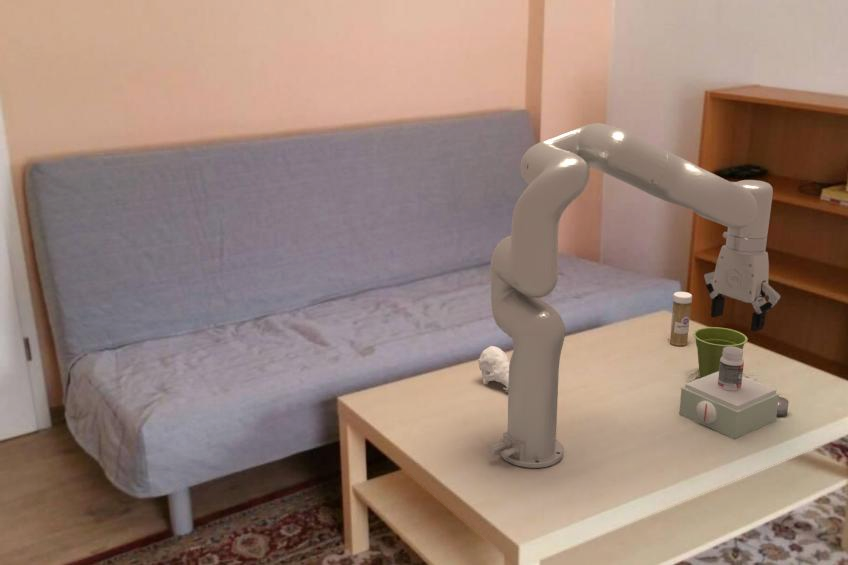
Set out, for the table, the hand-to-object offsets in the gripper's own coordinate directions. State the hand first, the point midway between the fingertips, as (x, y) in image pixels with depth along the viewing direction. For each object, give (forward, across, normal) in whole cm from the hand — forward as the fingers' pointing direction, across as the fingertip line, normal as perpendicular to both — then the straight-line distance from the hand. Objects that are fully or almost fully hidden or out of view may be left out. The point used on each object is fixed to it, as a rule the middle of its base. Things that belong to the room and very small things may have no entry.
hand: (736, 322), depth 182 cm
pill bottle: (+15, 0, 0) cm, 15 cm away
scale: (+22, 0, 0) cm, 22 cm away
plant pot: (+22, -13, +14) cm, 29 cm away
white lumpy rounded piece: (+22, -40, -28) cm, 54 cm away
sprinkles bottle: (+22, -33, +24) cm, 46 cm away
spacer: (+21, +5, +10) cm, 24 cm away
